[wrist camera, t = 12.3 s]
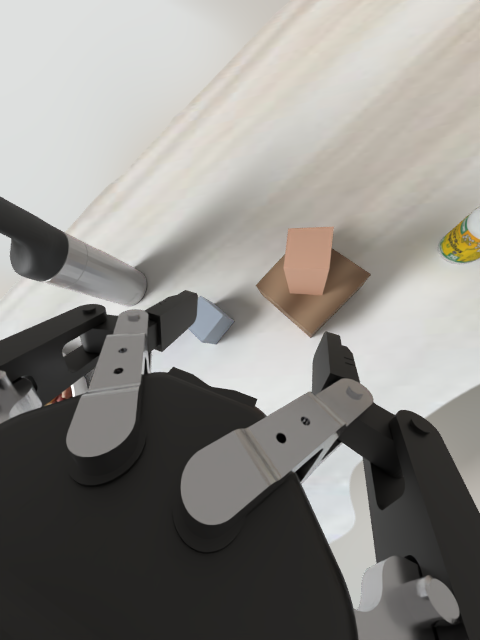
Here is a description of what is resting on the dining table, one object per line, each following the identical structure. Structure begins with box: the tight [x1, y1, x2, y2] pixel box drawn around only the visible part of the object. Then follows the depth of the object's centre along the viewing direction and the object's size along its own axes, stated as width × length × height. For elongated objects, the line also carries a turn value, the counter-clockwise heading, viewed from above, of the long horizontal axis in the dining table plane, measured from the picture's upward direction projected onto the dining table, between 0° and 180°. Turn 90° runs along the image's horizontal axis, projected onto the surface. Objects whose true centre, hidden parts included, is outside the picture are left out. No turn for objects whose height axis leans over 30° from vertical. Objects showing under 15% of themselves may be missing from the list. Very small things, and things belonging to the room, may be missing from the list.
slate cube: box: [188, 296, 234, 344], centre depth 39 cm, size 6×6×6 cm
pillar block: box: [283, 227, 334, 295], centre depth 27 cm, size 5×5×10 cm
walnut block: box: [256, 248, 371, 338], centre depth 35 cm, size 12×12×6 cm
